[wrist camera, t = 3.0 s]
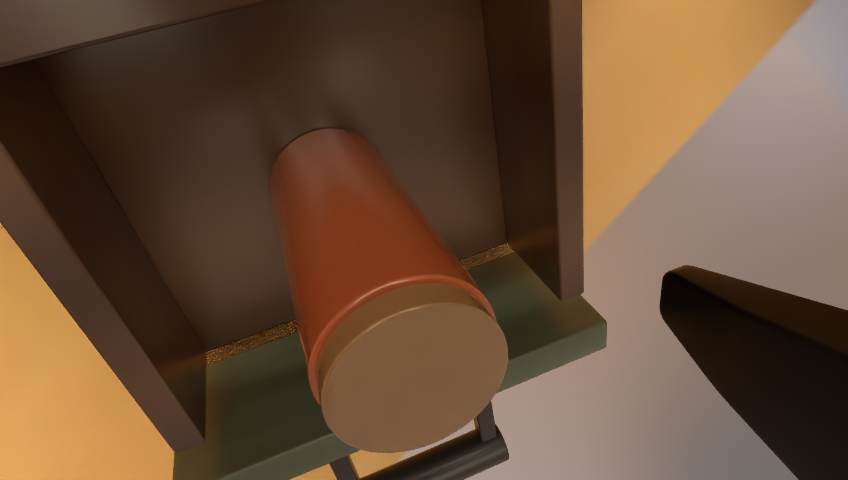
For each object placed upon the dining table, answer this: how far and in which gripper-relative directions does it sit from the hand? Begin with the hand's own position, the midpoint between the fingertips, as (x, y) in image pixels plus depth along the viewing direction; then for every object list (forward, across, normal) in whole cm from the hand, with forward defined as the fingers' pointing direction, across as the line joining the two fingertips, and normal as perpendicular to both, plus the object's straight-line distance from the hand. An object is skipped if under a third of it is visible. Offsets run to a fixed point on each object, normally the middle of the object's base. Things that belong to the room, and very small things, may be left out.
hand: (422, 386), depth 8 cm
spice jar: (+8, 0, 0) cm, 8 cm away
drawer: (+9, 0, +2) cm, 10 cm away
